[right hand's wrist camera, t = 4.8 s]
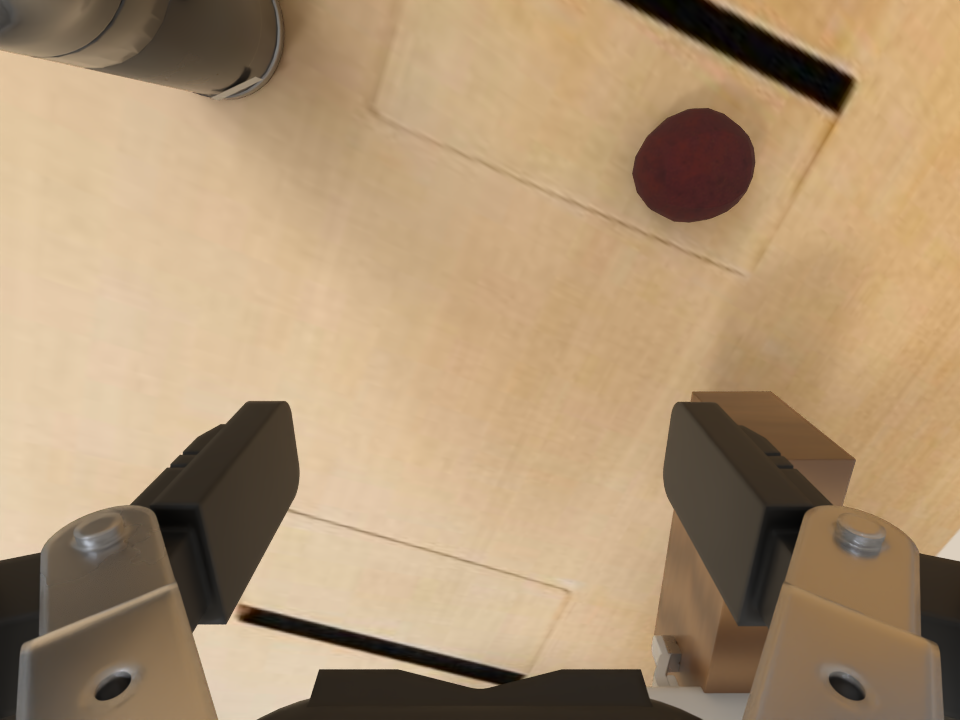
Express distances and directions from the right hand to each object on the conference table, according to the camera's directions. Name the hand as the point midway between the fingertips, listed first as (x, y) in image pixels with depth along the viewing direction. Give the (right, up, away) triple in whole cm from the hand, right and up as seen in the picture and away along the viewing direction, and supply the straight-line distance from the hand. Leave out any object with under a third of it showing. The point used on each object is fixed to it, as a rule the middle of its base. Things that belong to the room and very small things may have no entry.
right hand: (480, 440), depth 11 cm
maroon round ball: (+15, +16, +29) cm, 36 cm away
